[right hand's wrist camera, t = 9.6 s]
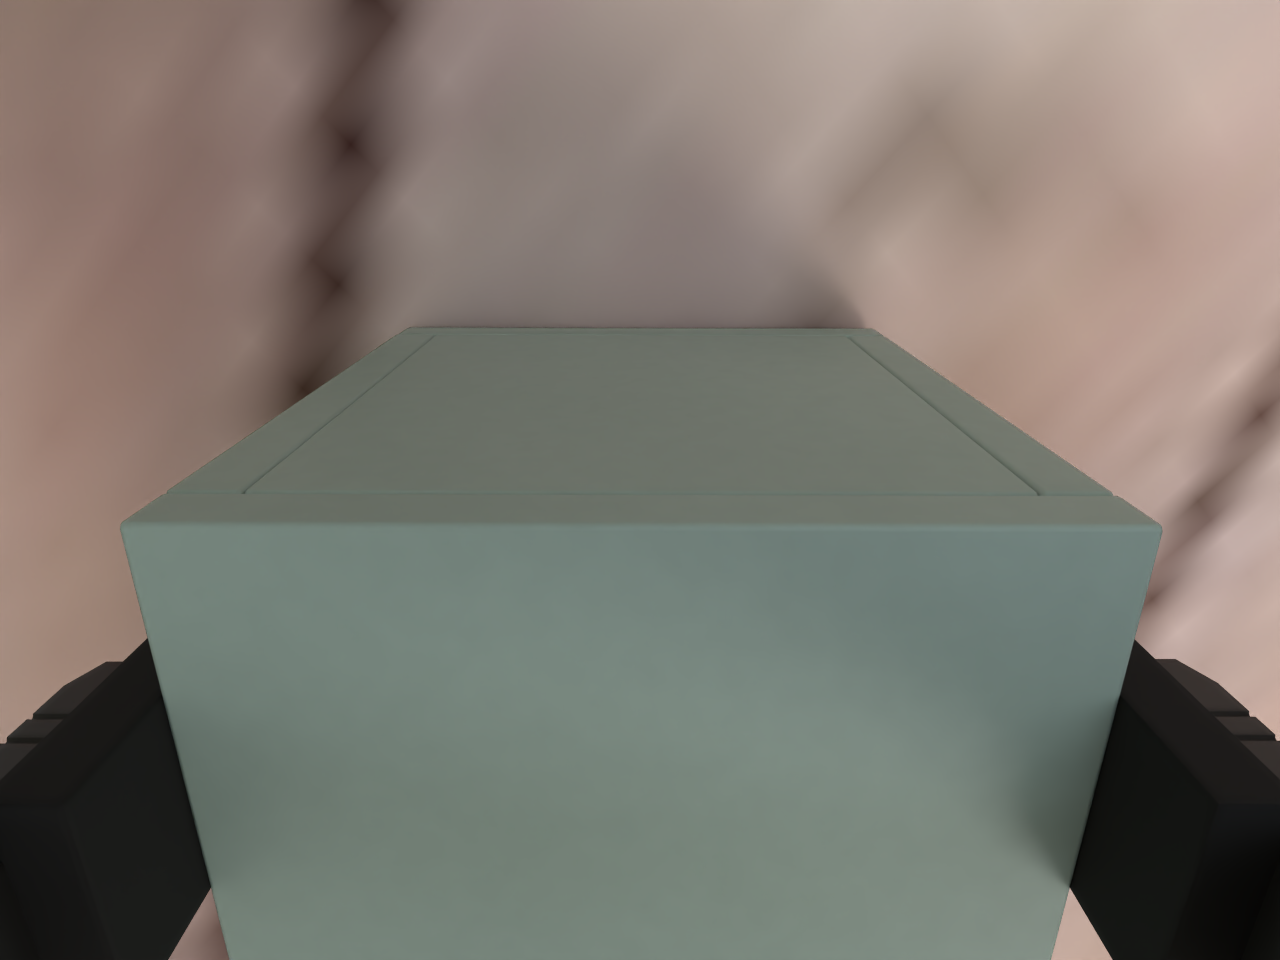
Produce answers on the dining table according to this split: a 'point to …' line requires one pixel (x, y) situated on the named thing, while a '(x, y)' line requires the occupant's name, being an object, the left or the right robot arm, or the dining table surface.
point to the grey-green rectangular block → (640, 654)
